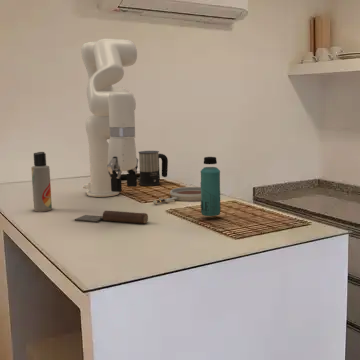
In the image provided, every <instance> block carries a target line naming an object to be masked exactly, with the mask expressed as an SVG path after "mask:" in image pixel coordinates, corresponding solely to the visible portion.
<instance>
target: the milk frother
mask: <svg viewBox="0 0 360 360" xmlns="http://www.w3.org/2000/svg"><path fill="white" fill-rule="evenodd" d="M160 160H161V172H160ZM168 164H169V160H168V157H167V155H166V154H165V153H160V151H158V150H141V151H138V167H139V176H138V177H137V181H139V185H140V186H145V187H147V186H148V187H151V186H159V185H160V184H161V182H160V181H161V180H160V178H161V177H163V178H166V177H168V170H169V169H168V167H169V165H168ZM160 173H161V174H160Z"/></svg>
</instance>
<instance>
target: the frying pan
mask: <svg viewBox="0 0 360 360" xmlns="http://www.w3.org/2000/svg"><path fill="white" fill-rule="evenodd" d="M169 195H170V197H169V198H161V197H158V200H156V199H154V200H153V202H152V204H153V205H156V206H157V204H160V203H163V202H164V203H173V204H175V203H176V202H175V200H176V201H180V202H201V186H181V187H176V188H172V189H170V191H169Z"/></svg>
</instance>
